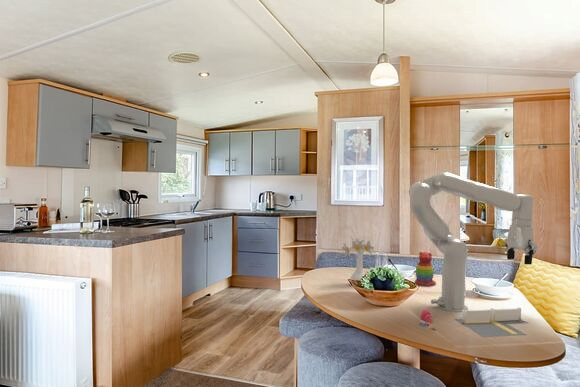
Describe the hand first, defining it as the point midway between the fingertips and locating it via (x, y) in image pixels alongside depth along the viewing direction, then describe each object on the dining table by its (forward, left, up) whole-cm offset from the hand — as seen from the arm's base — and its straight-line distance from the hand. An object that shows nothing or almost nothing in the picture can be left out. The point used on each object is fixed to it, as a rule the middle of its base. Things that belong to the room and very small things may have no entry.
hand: (519, 261), depth 166 cm
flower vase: (-56, +48, -23) cm, 77 cm away
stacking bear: (-18, +48, -23) cm, 56 cm away
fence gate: (-13, -10, -21) cm, 27 cm away
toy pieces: (-46, -10, -23) cm, 52 cm away
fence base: (-20, -15, -22) cm, 34 cm away
